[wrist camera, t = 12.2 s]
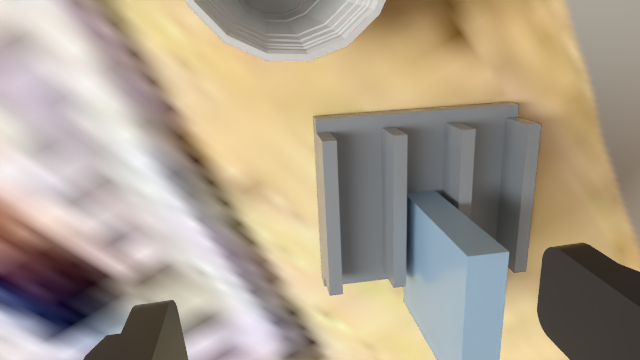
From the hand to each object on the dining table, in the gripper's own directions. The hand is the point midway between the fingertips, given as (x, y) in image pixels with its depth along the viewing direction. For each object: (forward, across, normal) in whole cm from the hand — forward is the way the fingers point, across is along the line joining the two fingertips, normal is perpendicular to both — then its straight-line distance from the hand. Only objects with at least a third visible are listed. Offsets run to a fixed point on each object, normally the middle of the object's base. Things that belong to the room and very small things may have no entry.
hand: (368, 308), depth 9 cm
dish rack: (+25, -10, +8) cm, 28 cm away
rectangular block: (+24, -10, +12) cm, 28 cm away
